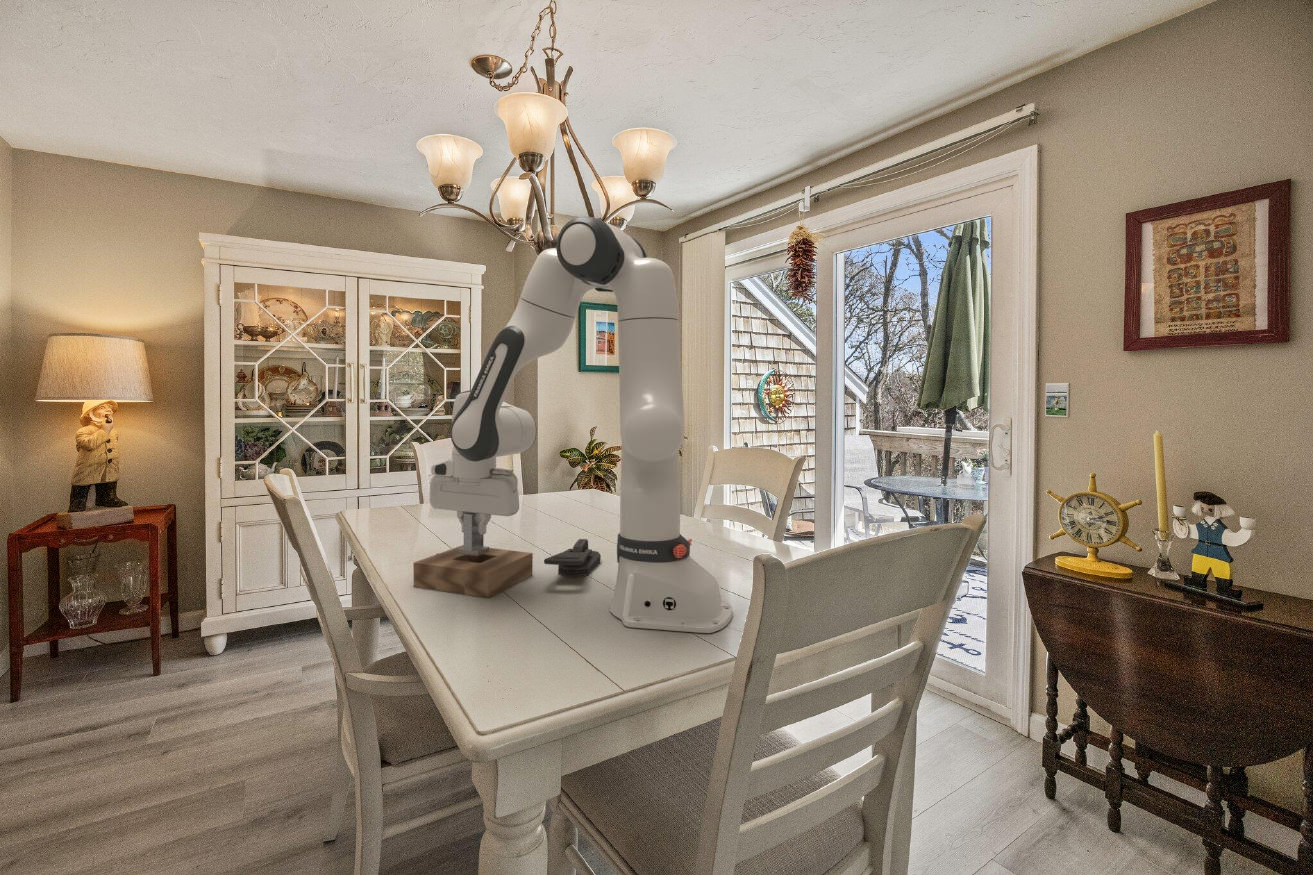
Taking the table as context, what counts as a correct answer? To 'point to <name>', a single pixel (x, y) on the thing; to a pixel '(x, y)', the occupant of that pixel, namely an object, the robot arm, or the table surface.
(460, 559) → the walnut well
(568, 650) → the table surface
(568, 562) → the zipper pull
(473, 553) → the steel bracket
